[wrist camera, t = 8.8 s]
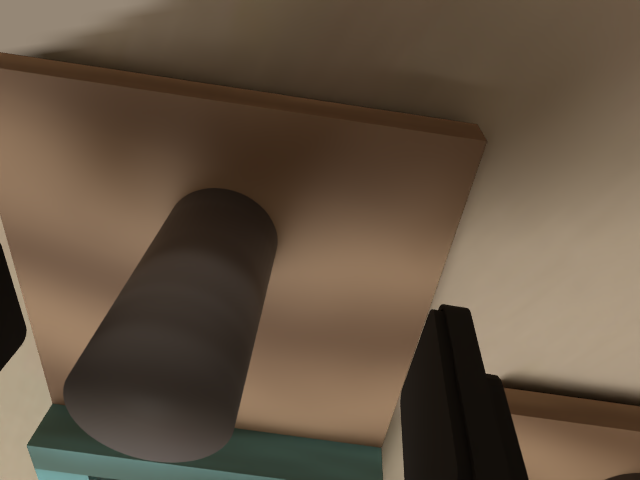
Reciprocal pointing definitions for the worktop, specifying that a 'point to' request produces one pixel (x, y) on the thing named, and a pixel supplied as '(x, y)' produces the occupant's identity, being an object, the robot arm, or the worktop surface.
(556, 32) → the worktop surface
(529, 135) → the worktop surface
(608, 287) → the worktop surface
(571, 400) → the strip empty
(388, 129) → the brown and teal tray
